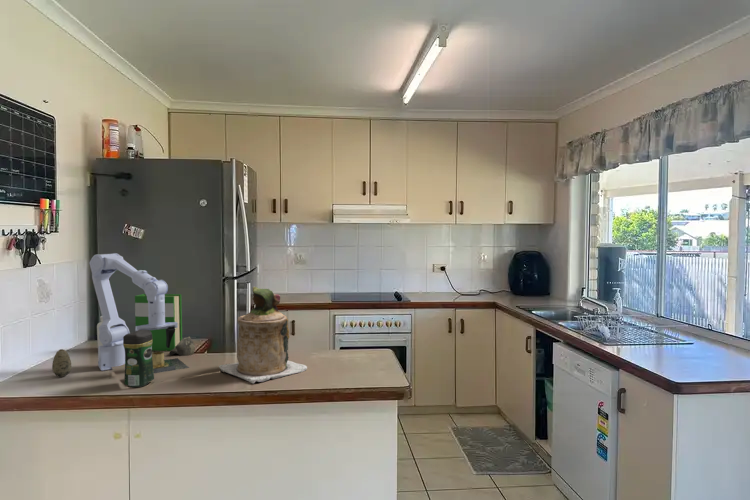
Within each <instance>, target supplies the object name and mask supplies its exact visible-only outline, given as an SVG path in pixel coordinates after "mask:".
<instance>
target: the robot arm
mask: <svg viewBox="0 0 750 500" xmlns="http://www.w3.org/2000/svg"><path fill="white" fill-rule="evenodd" d="M89 267H90V271H91V278H92V283H93V288H94V291H95V294H96V299H97V301H98V305H99V308H100V314H101V316H102V318H103V323H102V324H101V325H100V327H99V332H100V334H99V339H100V341H101V343H102V344H103V346H99V347H98V346H97V359H98V360H97V363H98V365H97V366H98V368H99V370H100V371H110V370H113V368H114V367H120V366H123V365H124V366H125V349H124V346H123V337H124V336H125V335H126V334H129V333H131V332H130V329H129V327H128V326H127V324H126V321H125V320H124V319H122V318H121V317H119V313H118V310H117V305H116V301H115V298H114V294H113V291H112V287H111V282H110V280H109V279H110V278H111V276H112V275H113V274H115V272H117V271H119V272H120V273H122V274H124V275H126V276H127V277H129V278H131V282H132V283H133V284H135V286H138V287H139V288H140V289H142V290H143V291H144V294H146V296H147V300H148V318H149V324H147V325H141V326H136V325H135V331H138V330H157V329H166V347H167V348H170V343H171V339H172V337H173V335H174V333H175V328H178V323H177V322H168V323H165V294H168V290H169V285H168V284H167V282H166V281H165V280H164V279H157V278H156V277H155V276H152V275H151V274H149V273H148V271H147V270H145V269H144V270H142V269H139V270H137V268H135V267H134V266H133V265H131V264H130V263H129V262H127V260H125V259H124V256H122V255H120V254H119V253H116V252H113V253H101V254H99V253H98V254H94V255H93V256H92V257H91V259H90V261H89ZM111 326H115V327H112V328H110V327H111Z"/></svg>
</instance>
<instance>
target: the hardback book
mask: <svg viewBox="0 0 750 500" xmlns="http://www.w3.org/2000/svg"><path fill="white" fill-rule="evenodd" d="M182 310H183V309H182V293H181V294H180V293H177V294H176V293H175V294H174V293H166V294H165V323H168V322H177V323H178V328H175V333H174V335H173V337H172V339H171V343H170V348H167V347H166V329H157V330H150V332H151V333H152V338H153V342H152V352H154V351H155V352H170V351H171V350H173V349H174V348H175V346H176V345H177V344H178V343H179V342H180V341H181V340H182V339H183V312H182ZM134 313H135V315H134V316H135V318H134V321H135V327H136V326H141V325H147V324H149V318H148V300H147V296H146V294H145V293H142V294H137V295H134Z"/></svg>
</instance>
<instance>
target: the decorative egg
mask: <svg viewBox="0 0 750 500" xmlns="http://www.w3.org/2000/svg"><path fill="white" fill-rule="evenodd" d="M51 369H52V372H53V374H54V375H55V376H57V377H59V378H60V377H61V378H62V377H65V376H67V375H69V373H70V372H71V370H72V360H71V358H70V355H69V353H68V352H67V351H66V350H65V349H63V348H61V349H58V351H56V353H55V355H54V357H53V359H52V367H51Z"/></svg>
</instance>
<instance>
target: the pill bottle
mask: <svg viewBox="0 0 750 500" xmlns="http://www.w3.org/2000/svg"><path fill="white" fill-rule="evenodd" d="M99 321H100V322H98V323H97V325H96V335H97V336H96V337H97V348H98V347H99V346H103V344H102V343H101V341H100V339H99V334H100V332H99V327H100V325H101V324H102V323H103V318H102V315H101V316H99ZM112 327H115V326H111V327H110V328H112Z"/></svg>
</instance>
